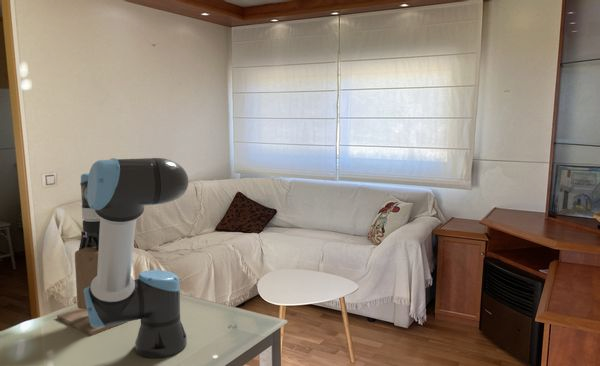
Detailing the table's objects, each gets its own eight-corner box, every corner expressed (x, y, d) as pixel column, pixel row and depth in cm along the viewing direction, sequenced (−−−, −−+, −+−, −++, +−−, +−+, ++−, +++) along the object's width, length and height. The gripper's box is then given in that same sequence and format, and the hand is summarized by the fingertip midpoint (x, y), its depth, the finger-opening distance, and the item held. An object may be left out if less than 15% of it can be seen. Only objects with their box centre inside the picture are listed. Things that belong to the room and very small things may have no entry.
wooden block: (102, 312, 151) (100, 253, 149) (76, 309, 154) (73, 251, 151) (120, 300, 161) (118, 245, 159) (95, 298, 163) (93, 243, 161)
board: (129, 320, 159) (129, 317, 159) (91, 335, 148) (91, 331, 148) (95, 306, 172) (94, 302, 172) (57, 318, 161) (57, 314, 161)
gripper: (126, 222, 149) (128, 285, 152) (86, 212, 164) (88, 271, 166) (104, 226, 143) (107, 292, 146) (65, 216, 158) (68, 276, 160)
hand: (97, 281), depth 156 cm, fingers closed on wooden block, 12 cm apart
